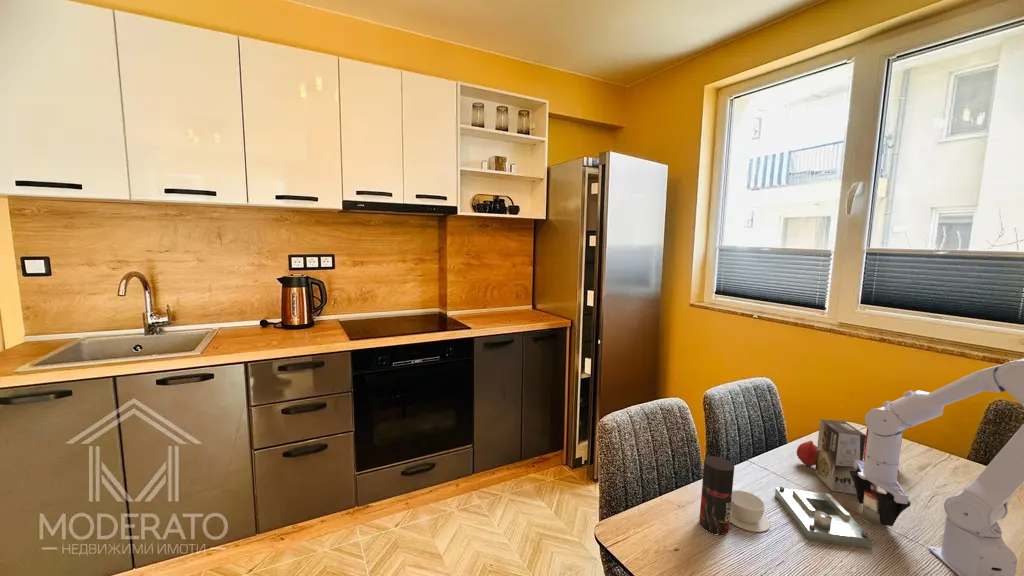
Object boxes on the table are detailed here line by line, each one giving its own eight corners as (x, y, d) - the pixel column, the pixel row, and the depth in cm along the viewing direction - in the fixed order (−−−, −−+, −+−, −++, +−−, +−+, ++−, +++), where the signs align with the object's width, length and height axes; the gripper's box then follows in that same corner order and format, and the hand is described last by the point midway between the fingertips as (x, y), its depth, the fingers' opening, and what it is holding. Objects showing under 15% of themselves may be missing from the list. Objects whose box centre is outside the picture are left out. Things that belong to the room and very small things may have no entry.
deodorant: (724, 539, 86) (730, 473, 85) (695, 526, 90) (700, 463, 89) (731, 525, 91) (737, 462, 89) (703, 513, 95) (708, 453, 93)
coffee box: (860, 495, 104) (867, 435, 102) (831, 491, 105) (838, 432, 103) (839, 475, 113) (845, 420, 111) (813, 472, 114) (819, 418, 112)
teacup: (745, 537, 88) (746, 517, 87) (711, 508, 97) (712, 490, 97) (780, 529, 90) (782, 510, 90) (744, 502, 100) (746, 484, 99)
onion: (791, 463, 119) (793, 437, 118) (802, 459, 121) (805, 434, 120) (812, 473, 113) (815, 446, 112) (824, 469, 116) (827, 442, 115)
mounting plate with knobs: (871, 549, 85) (874, 530, 84) (808, 540, 87) (810, 521, 86) (827, 502, 100) (829, 486, 100) (774, 495, 103) (776, 480, 102)
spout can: (891, 528, 91) (896, 495, 91) (869, 525, 92) (873, 492, 91) (878, 515, 96) (882, 484, 95) (856, 512, 97) (860, 481, 96)
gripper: (842, 441, 100) (836, 492, 102) (884, 473, 86) (876, 532, 88) (875, 444, 99) (868, 496, 100) (922, 477, 85) (914, 537, 86)
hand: (874, 513), depth 94 cm, fingers open, 7 cm apart
